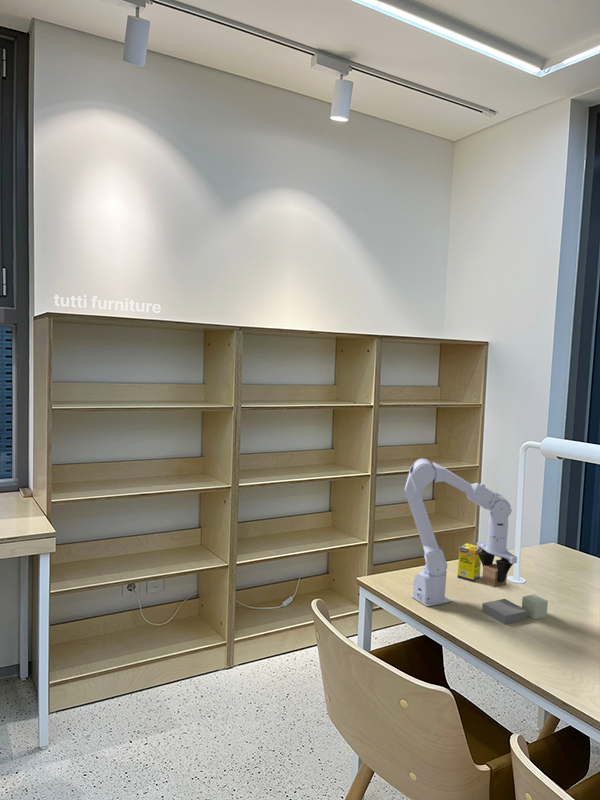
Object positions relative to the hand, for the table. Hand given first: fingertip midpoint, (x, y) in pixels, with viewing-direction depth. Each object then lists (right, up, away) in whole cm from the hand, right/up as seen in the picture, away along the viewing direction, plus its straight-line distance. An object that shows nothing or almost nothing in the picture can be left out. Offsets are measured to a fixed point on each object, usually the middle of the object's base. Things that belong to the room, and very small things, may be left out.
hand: (494, 578), depth 183 cm
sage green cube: (+10, -10, -5) cm, 15 cm away
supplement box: (-1, -7, +23) cm, 24 cm away
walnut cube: (0, -2, 0) cm, 2 cm away
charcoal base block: (+1, -10, -6) cm, 11 cm away
